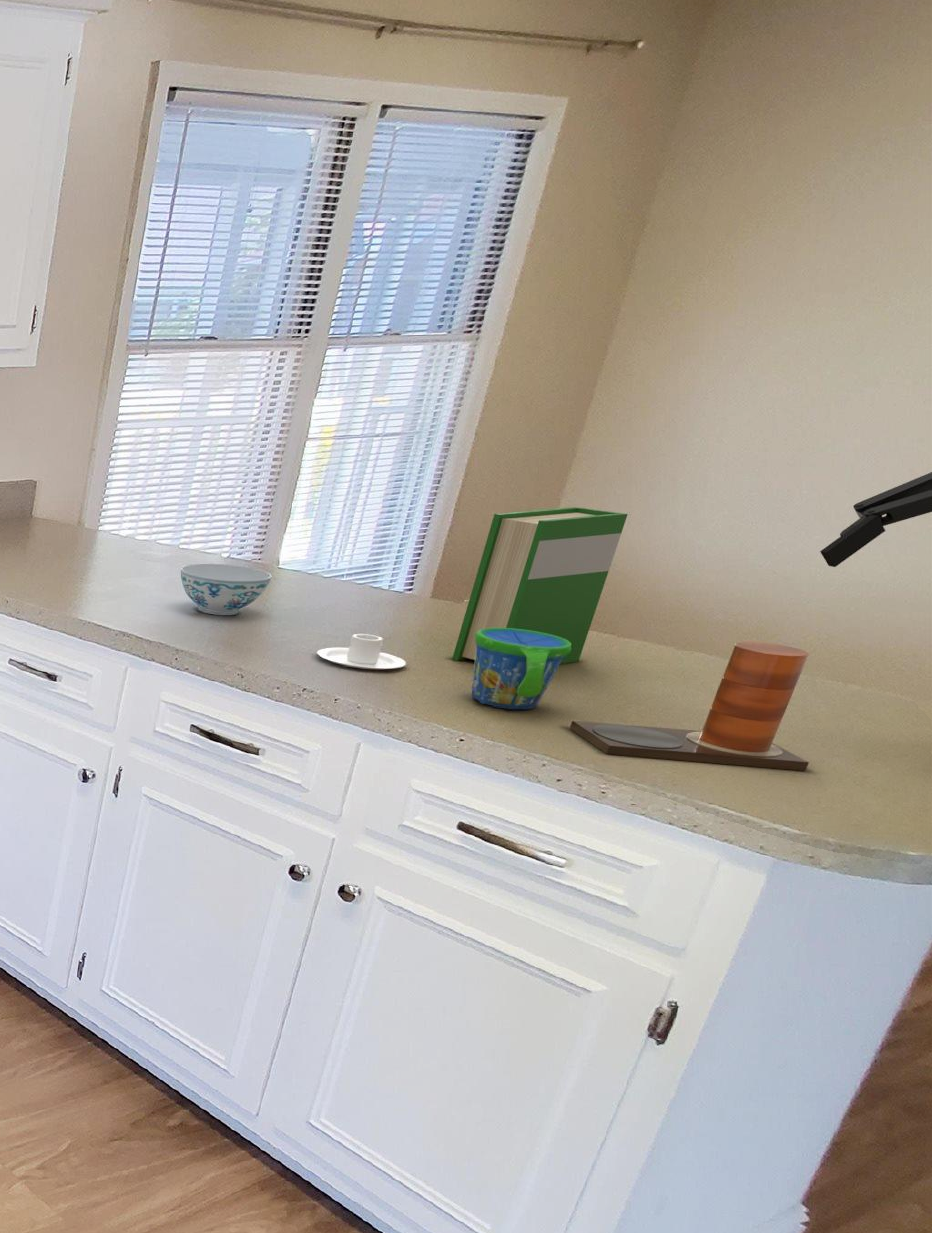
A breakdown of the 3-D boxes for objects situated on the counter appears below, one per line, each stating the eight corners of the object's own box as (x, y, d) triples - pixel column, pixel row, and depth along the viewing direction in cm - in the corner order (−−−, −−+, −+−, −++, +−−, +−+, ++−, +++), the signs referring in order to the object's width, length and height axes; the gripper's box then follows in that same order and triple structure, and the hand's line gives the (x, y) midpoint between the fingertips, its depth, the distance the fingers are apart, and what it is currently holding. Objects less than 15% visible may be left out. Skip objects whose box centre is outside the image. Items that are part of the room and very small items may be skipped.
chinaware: (246, 603, 221) (255, 564, 218) (275, 622, 208) (284, 581, 205) (164, 600, 224) (171, 562, 222) (186, 619, 211) (194, 579, 208)
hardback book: (499, 671, 178) (545, 521, 169) (452, 659, 185) (494, 513, 176) (578, 661, 182) (627, 514, 174) (529, 649, 189) (574, 506, 181)
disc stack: (781, 754, 141) (822, 657, 136) (717, 749, 143) (755, 653, 138) (749, 737, 146) (787, 643, 142) (688, 732, 148) (723, 640, 144)
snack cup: (561, 725, 155) (585, 655, 152) (466, 713, 160) (487, 645, 157) (537, 693, 168) (558, 628, 164) (450, 683, 173) (468, 620, 169)
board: (805, 771, 139) (809, 761, 139) (606, 754, 145) (609, 744, 145) (754, 743, 148) (758, 734, 147) (569, 728, 154) (572, 719, 154)
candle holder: (316, 665, 183) (322, 640, 181) (316, 648, 192) (322, 623, 190) (406, 677, 176) (414, 650, 175) (402, 658, 186) (409, 633, 184)
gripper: (1230, 479, 120) (1028, 616, 126) (952, 453, 144) (792, 570, 149) (1207, 429, 119) (1003, 571, 124) (930, 411, 142) (768, 531, 147)
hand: (888, 570), depth 136 cm, fingers open, 13 cm apart
